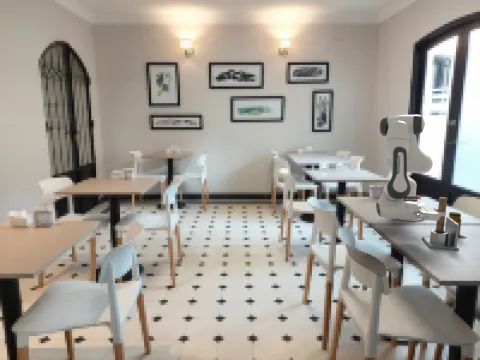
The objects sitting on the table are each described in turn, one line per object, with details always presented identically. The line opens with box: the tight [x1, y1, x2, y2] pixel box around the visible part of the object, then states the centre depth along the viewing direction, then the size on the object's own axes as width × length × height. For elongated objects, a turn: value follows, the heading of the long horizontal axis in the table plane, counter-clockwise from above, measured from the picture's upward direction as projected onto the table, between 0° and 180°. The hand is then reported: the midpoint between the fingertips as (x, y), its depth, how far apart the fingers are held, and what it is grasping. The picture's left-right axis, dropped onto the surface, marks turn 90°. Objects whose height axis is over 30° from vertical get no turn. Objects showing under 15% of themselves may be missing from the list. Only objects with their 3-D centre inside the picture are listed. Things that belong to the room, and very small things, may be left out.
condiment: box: [448, 211, 466, 239], centre depth 184 cm, size 7×8×12 cm
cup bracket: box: [421, 216, 460, 251], centre depth 170 cm, size 12×14×12 cm
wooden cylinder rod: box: [435, 196, 448, 232], centre depth 169 cm, size 3×3×16 cm
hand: (443, 212), depth 168 cm, fingers closed on wooden cylinder rod, 3 cm apart
